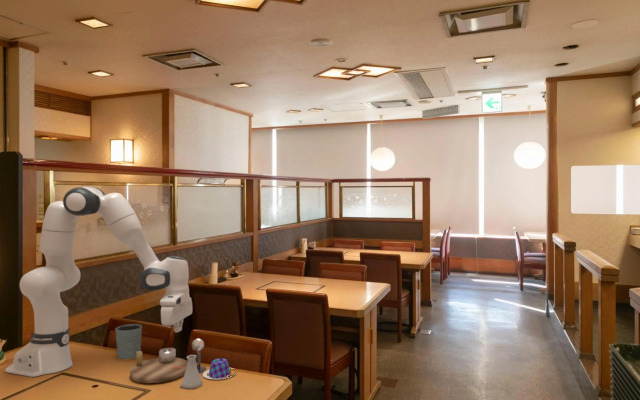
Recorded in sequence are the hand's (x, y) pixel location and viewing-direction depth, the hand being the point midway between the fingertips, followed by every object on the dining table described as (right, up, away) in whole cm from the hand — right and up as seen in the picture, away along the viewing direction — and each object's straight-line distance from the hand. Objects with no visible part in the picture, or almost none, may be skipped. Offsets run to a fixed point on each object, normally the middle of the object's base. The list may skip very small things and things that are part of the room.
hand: (178, 331), depth 178 cm
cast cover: (-2, -9, -8) cm, 12 cm away
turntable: (-2, -12, -14) cm, 18 cm away
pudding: (+20, -12, -14) cm, 27 cm away
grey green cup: (-22, -12, +5) cm, 26 cm away
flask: (+12, -12, -24) cm, 29 cm away
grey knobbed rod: (+11, -12, -11) cm, 19 cm away
